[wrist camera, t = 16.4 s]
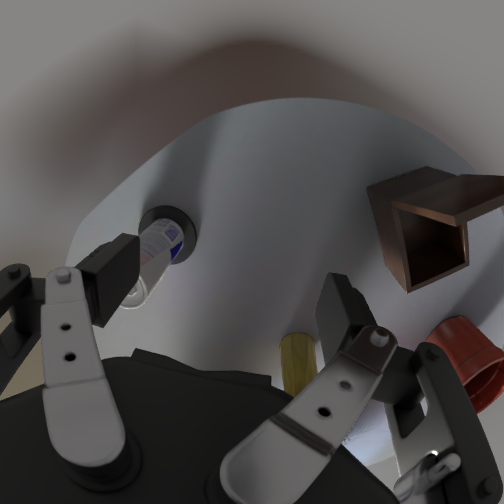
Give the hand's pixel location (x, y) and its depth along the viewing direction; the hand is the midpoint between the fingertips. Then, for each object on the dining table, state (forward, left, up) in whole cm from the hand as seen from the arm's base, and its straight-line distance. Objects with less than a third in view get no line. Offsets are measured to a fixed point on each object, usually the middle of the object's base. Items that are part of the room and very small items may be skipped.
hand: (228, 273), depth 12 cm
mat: (+3, -15, -28) cm, 32 cm away
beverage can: (+3, -15, -28) cm, 32 cm away
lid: (+6, +19, -12) cm, 23 cm away
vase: (+29, -4, -28) cm, 41 cm away
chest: (+13, +19, -28) cm, 36 cm away
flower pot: (+42, +25, -28) cm, 56 cm away
